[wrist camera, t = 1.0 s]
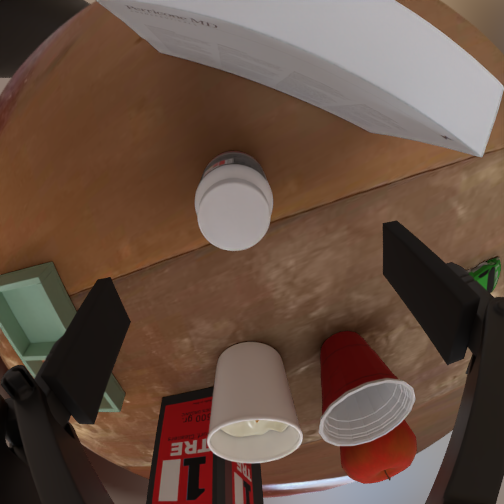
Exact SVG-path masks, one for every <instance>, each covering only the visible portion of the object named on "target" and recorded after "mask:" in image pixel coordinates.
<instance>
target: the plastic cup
mask: <svg viewBox="0 0 504 504" xmlns="http://www.w3.org/2000/svg"><path fill="white" fill-rule="evenodd" d="M320 362H321V387H322V404H323V406H322V416H321V420H320V427H319V433H320V435H321V436H322V438H323V439H324V441H326V442H328V443H331V444H333V445H336V446H355V445H359V444H363V443H367V442H370V441H373V440H375V439H377V438H379V437H381V436H383V435H386V434H387V433H388V432H390V431H391V430H393V429H394V428H395V427H397V426H398V425H399V424H400V423H401V422H402V421H403V420H404V419H405V417H406V416H407V415H408V414H409V413H410V411H411V409H412V406H413V404H414V401H415V395H414V389H413V388H412V387H411V386H410V385H408V384H407V383H406V382H404V381H403V380H401V379H398V378H397V377H396V376H395V375H394V374H393V373H392V372H391V371H390V370H389V368H388V367H387V366H386V365H385V363H384V362H383V361H382V360H381V359H380V357H379V356H378V355H377V354H376V352H375V351H374V350H373V349H371V348H370V346H369V345H368V344H367V342H366V341H365V340H364V339H363V338H362V337H361V336H360V335H359V334H357V333H356V332H352V331H343V332H339V333H336V334H334V335H332V336H331V337H329V338H328V339H327V340H326V341H325V342H324V344H323V345H322V347H321V354H320Z"/></svg>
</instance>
